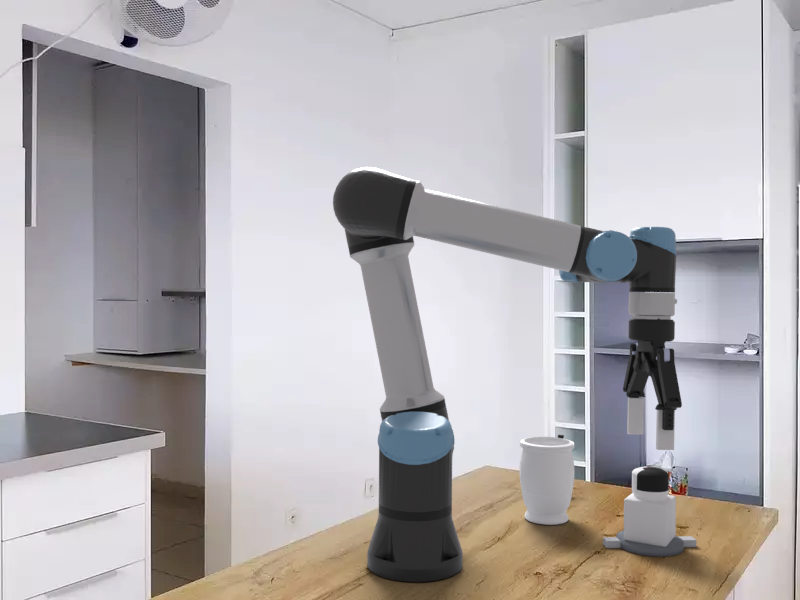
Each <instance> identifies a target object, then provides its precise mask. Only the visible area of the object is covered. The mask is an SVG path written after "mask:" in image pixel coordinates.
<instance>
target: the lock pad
mask: <svg viewBox="0 0 800 600" xmlns="http://www.w3.org/2000/svg"><path fill="white" fill-rule="evenodd" d="M602 545H603V546H604V547H605V548H606V549H621V550H624V551H626V552H627V553H628V552H629V553H631V554H635V555H641V556H648V557H672V556H674V557H675V556H677V555H680V554H682V553H683V552H684V548H697V539H696V538H695V537H693V536H692V535H690V536H689V535H687V536H685V535H684V536H683V535H682V536H678V535H676V534H675V537H674V538H673V539H672V540H671V542H670V543H669V544H668V545H667V546H666V547H661V546H655V545H649V544H643V543H638V542H632V541H626V540H624V530H620V531H618V532H617V533H616V535H615V536H610V537H609V536H606V537H602Z"/></svg>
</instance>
